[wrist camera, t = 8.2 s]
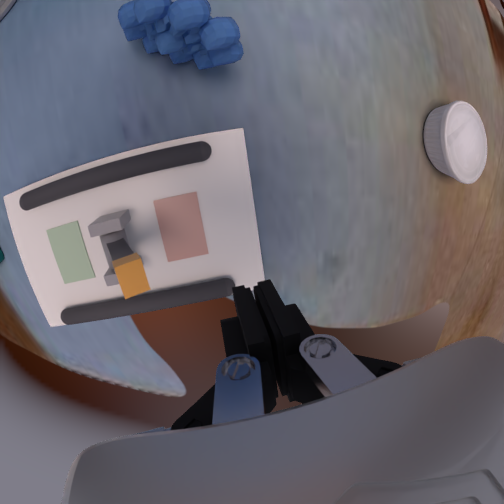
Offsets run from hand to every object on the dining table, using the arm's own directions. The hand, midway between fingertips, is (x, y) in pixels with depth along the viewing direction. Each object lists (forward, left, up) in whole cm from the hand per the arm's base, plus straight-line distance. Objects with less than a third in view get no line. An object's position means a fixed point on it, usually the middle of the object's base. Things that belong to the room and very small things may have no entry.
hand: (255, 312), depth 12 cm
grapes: (-18, -1, -19) cm, 26 cm away
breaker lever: (0, -10, -14) cm, 18 cm away
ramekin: (-6, +32, -19) cm, 38 cm away
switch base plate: (0, -10, -18) cm, 21 cm away
